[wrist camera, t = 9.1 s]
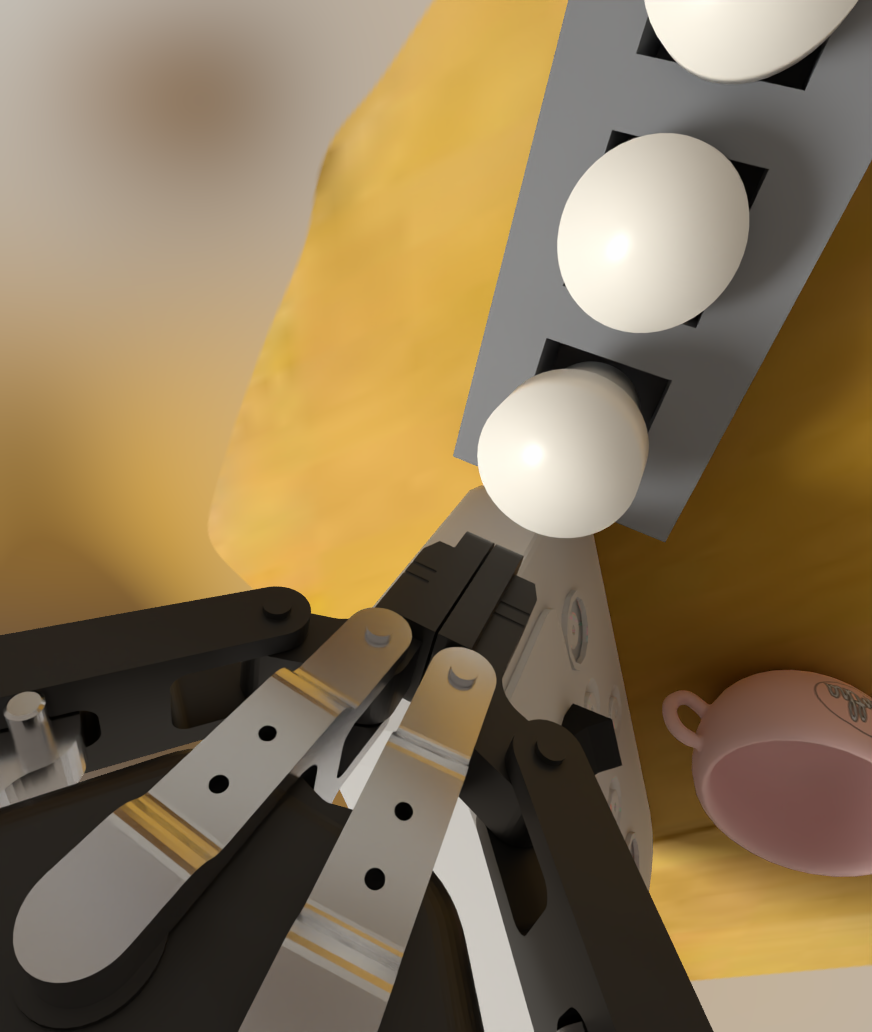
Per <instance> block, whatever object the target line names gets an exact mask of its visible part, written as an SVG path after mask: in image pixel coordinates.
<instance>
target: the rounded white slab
mask: <svg viewBox="0 0 872 1032" xmlns="http://www.w3.org/2000/svg"><path fill="white" fill-rule="evenodd" d="M467 531H469V532H471V533H473V534H475V535H478V536H480V537H482V538H484V539H487V540H489V541H491V542H493V543H495V545H496V544H498V545H500V546H503V547H505V548H507V549H509V550H512V551H514V552H516V553H518V554H521V555H523V556H524V557H523V560H522V563H521V566H520V568H519V571H518V573H517V576H519V577H521V578H523V579H526V580H528V581H530V582H532V583H534V584H535V587H536V595H537V602H536V604H535V607H534V609H533V611H532V614H531V616H530V618H529V621H528V623H527V625H526V628H525V630H524V632H523V635H522V637H521V639H520V642H519V644H518V646H517V648H516V650H515V652H514V655H513V657H512V659H511V661H510V663H509V665H508V668H507V670H506V672H505V674H504V676H503V678H502V684H503V689H504V692H505V694H506V697H507V698H508V700H509V702H510V703H511V704H512V706H513V707H514V708H515V709H516V710H517V711H518V712H519V713H520V714H521V715H523V716H524V717H525V718H526V719H527V720H528V721H530V720H535V719H543V720H549V721H552V722H555V723H557V724H559V725H561V726H563V727H564V728H566V729H567V730H568V731H569V732H571V733H572V734H573V735H574V737H575V738H576V739H577V740H578V742H579V743H580V745H581V747H582V749H583V751H584V753H585V755H586V757H587V759H588V762H589V764H590V766H591V768H592V770H593V772H594V775H595V777H596V779H597V781H598V783H599V785H600V788H601V790H602V792H603V794H604V796H605V798H606V801H607V803H608V805H609V807H610V809H611V811H612V814H613V816H614V818H615V820H616V822H617V824H618V826H619V829H620V831H621V833H622V835H623V837H624V839H625V842H626V844H627V846H628V848H629V850H630V852H631V855H632V857H633V859H634V861H635V863H636V865H637V868H638V870H639V872H640V874H641V876H642V878H643V881H644V883H645V885H646V887H647V889H648V891H649V887H650V879H651V871H652V857H653V831H652V823H651V814H650V809H649V804H648V799H647V794H646V789H645V785H644V780H643V775H642V770H641V765H640V760H639V755H638V750H637V745H636V740H635V736H634V731H633V726H632V721H631V716H630V711H629V706H628V701H627V696H626V691H625V686H624V682H623V677H622V672H621V667H620V662H619V657H618V652H617V647H616V642H615V637H614V633H613V628H612V623H611V618H610V613H609V608H608V603H607V598H606V593H605V588H604V584H603V579H602V574H601V569H600V564H599V559H598V554H597V549H596V544H595V539H594V535H593V534H591V535H587V536H583V537H576V538H556V537H549V536H545V535H541V534H538V533H535V532H533V531H530V530H528V529H526V528H524V527H522V526H520V525H519V524H517V523H516V522H514V521H513V520H511V519H510V518H509V517H508V516H506V515H505V514H504V513H503V512H502V511H501V510H500V509H499V508H498V507H497V505H496V504H495V503H494V502H493V501H492V499H491V497H490V496H489V494H488V493H487V491H486V489H485V487H484V485H483V486H479V487H477V488H474V489H472V490H470V491H469V492H468V493H467V494H466V496H465V497H464V498H463V499H462V500H461V502H460V503H459V504H458V505H457V506H456V508H455V509H454V510H453V511H452V512H451V514H450V515H449V516H448V517H447V518H446V520H445V521H444V522H443V523H442V524H441V526H440V527H439V528H438V529H437V530H436V532H435V533H434V534H433V535H432V537H431V538H430V539H429V540H428V541H427V543H426V544H425V545H424V546H423V547H422V549H423V548H425V547H427V546H430V545H432V544H434V543H436V542H439V541H441V542H444V543H446V544H448V545H450V546H452V547H455V546H456V545H457V544H458V542H459V541H460V540H461V538H462V537H463V536H464V534H465V533H466V532H467ZM495 545H494V546H495ZM422 549H421V550H420V551H419V552H418V553H417V555H416V556H415V557H414V558H413V559H412V561H411V562H410V563H409V564H408V565H407V567H406V568H405V569H404V570H403V571H402V573H401V574H400V575H399V576H398V577H397V579H396V580H395V581H394V582H393V583H392V585H391V586H390V587H389V588H388V589H387V591H386V592H385V593H384V594H383V595H382V597H381V598H380V599H379V600H378V601H377V603H376V604H375V605H374V606H373V607H372V608H375V606H376V605H377V604H378V603H379V602H380V600H381V599H382V598H383V597H384V596H385V594H386V593H387V592H388V591H389V589H390V588H391V587H392V586H393V585H394V583H395V582H396V581H397V580H398V579H399V577H400V576H401V575H402V574H403V573H404V572H405V570H406V569H407V568H408V566H409V565H410V564H411V563H413V561H414V559H415V558H416V557H417V556H418V554H419V553H420V552H421V551H422ZM410 703H411V702H409V701H407V700H405V699H403V698H402V700H401V701H400V703H399V705H398V706H397V708H396V709H395V711H394V712H393V714H392V715H391V716H390V720H389V723H388V725H387V726H386V728H385V729H384V730H383V732H382V733H381V734H380V736H379V737H378V738H377V740H376V741H375V742H374V744H373V745H372V746H371V748H370V749H369V750H368V752H367V753H366V754H365V756H364V757H363V758H362V760H361V761H360V762H359V764H358V765H357V766H356V768H355V769H354V770H353V772H352V773H351V774H350V775H349V777H348V778H347V779H346V781H345V782H344V783H343V785H342V786H341V788H340V791H341V793H342V795H343V797H344V799H345V801H346V803H347V806H348V808H349V809H352V810H353V809H354V807H355V805H356V803H357V801H358V799H359V797H360V795H361V793H362V791H363V789H364V787H365V785H366V783H367V781H368V779H369V777H370V775H371V773H372V771H373V769H374V767H375V765H376V763H377V761H378V759H379V757H380V755H381V753H382V751H383V749H384V747H385V745H386V743H387V741H388V739H389V737H390V736H391V734H392V733H393V732H394V731H395V732H396V731H397V729H398V727H399V725H400V723H401V721H402V719H403V717H404V715H405V713H406V711H407V709H408V707H409V705H410ZM433 871H434V873H435V874H436V875H437V876H438V878H439V879H440V880H441V882H442V883H443V885H444V886H445V888H446V890H447V891H448V893H449V895H450V896H451V899H452V901H453V903H454V905H455V907H456V909H457V912H458V915H459V918H460V921H461V924H462V927H463V931H464V935H465V939H466V944H467V949H468V954H469V959H470V963H471V968H472V973H473V978H474V983H475V988H476V993H477V998H478V1002H479V1007H480V1012H481V1017H482V1022H483V1027H484V1032H534V1029H533V1026H532V1022H531V1019H530V1015H529V1012H528V1008H527V1005H526V1001H525V998H524V994H523V991H522V987H521V984H520V980H519V977H518V973H517V969H516V966H515V962H514V959H513V955H512V952H511V948H510V945H509V941H508V938H507V934H506V931H505V927H504V924H503V920H502V917H501V913H500V909H499V906H498V902H497V899H496V895H495V892H494V888H493V885H492V881H491V878H490V874H489V871H488V867H487V864H486V860H485V857H484V853H483V850H482V846H481V842H480V839H479V835H478V832H477V827H476V814H475V813H474V812H473V811H472V810H471V809H470V808H469V807H468V806H467V805H466V804H465V803H464V802H463V801H462V800H461V799H460V798H459V797H458V800H457V802H456V805H455V808H454V811H453V814H452V817H451V820H450V822H449V825H448V828H447V831H446V834H445V837H444V840H443V842H442V845H441V848H440V851H439V854H438V857H437V859H436V862H435V865H434V868H433Z"/></svg>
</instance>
